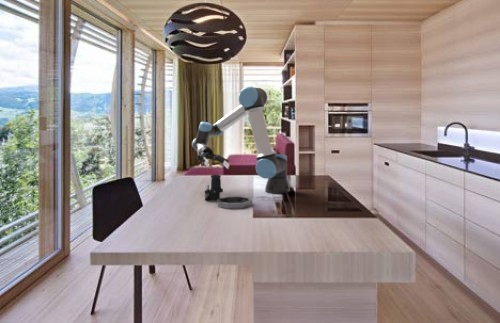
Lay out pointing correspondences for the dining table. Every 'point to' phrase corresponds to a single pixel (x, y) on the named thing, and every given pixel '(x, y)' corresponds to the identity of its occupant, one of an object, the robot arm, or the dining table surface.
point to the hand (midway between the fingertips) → (218, 165)
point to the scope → (214, 188)
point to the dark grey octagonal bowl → (234, 202)
